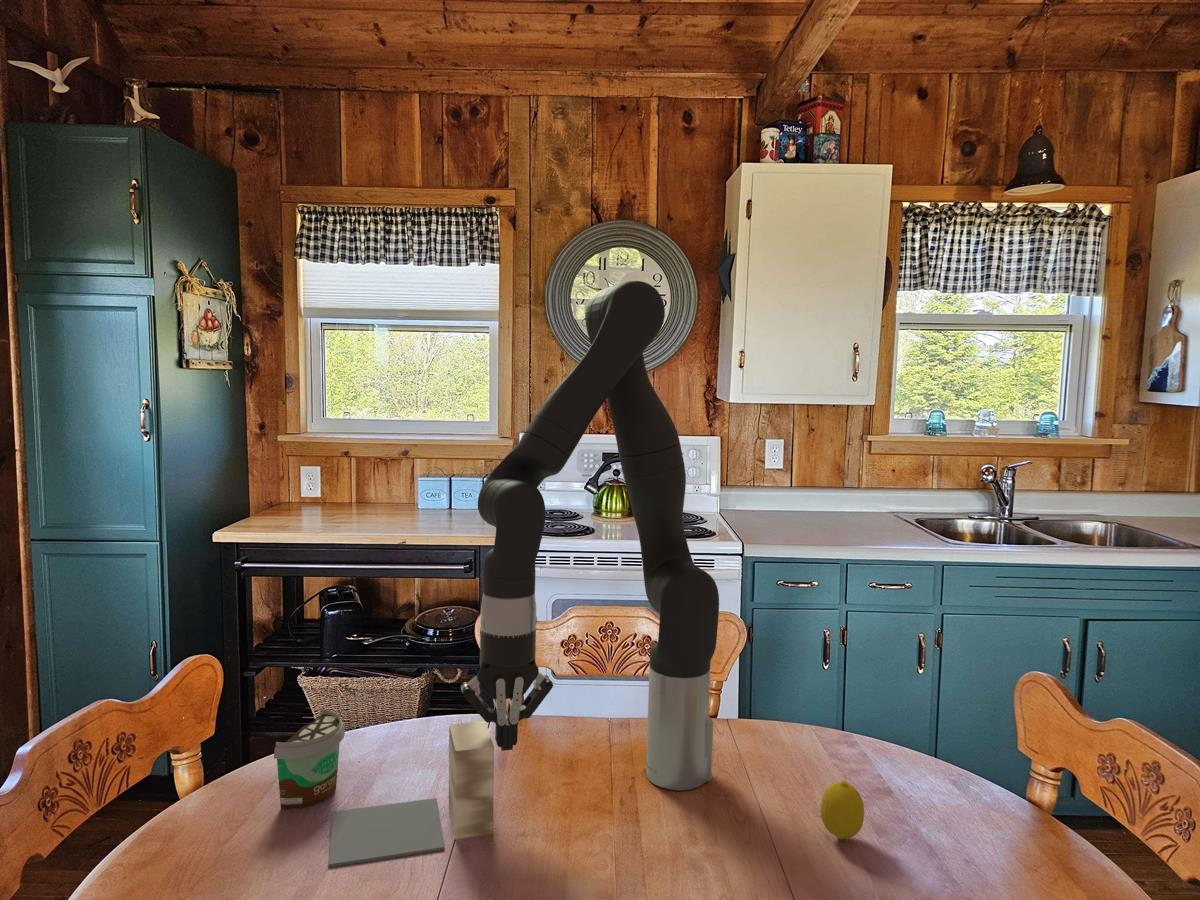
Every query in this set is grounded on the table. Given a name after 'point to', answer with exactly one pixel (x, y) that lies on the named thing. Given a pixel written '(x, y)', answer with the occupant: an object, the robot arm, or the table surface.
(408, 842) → the mat
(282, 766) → the food container
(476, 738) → the ash block
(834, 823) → the lemon
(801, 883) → the table surface
